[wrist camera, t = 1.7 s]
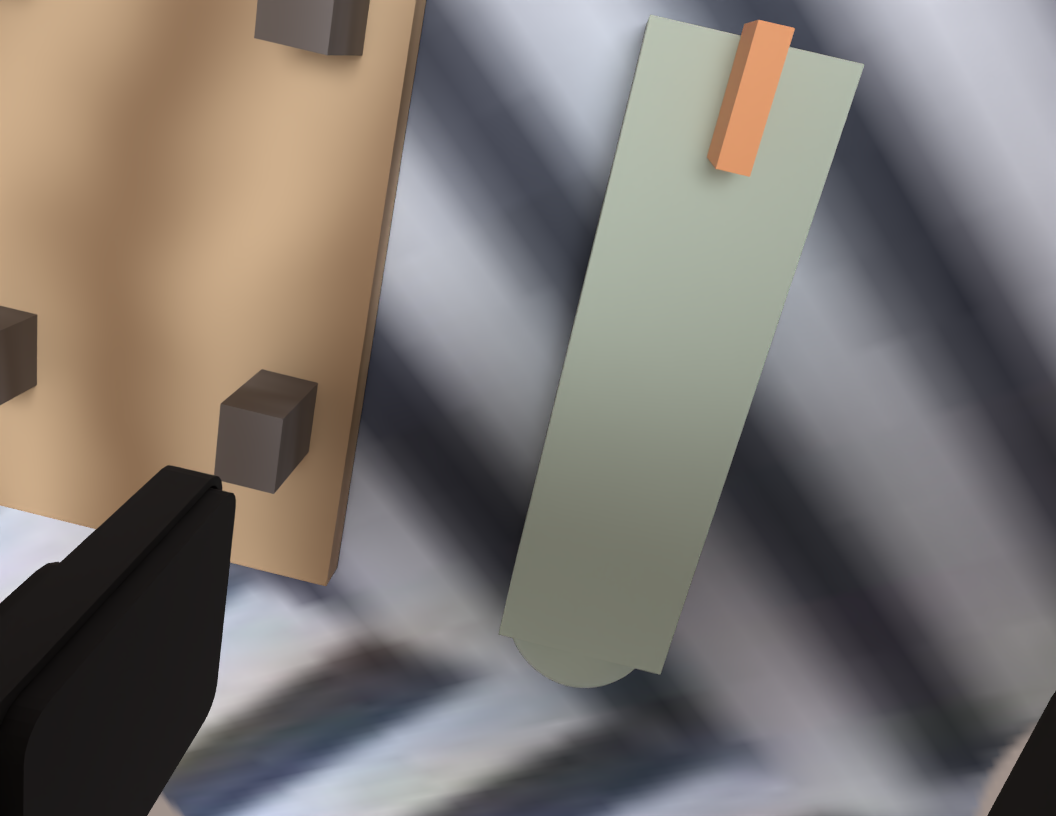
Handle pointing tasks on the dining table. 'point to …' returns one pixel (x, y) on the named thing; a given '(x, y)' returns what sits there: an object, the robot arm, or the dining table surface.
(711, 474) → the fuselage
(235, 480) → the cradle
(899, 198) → the dining table surface
